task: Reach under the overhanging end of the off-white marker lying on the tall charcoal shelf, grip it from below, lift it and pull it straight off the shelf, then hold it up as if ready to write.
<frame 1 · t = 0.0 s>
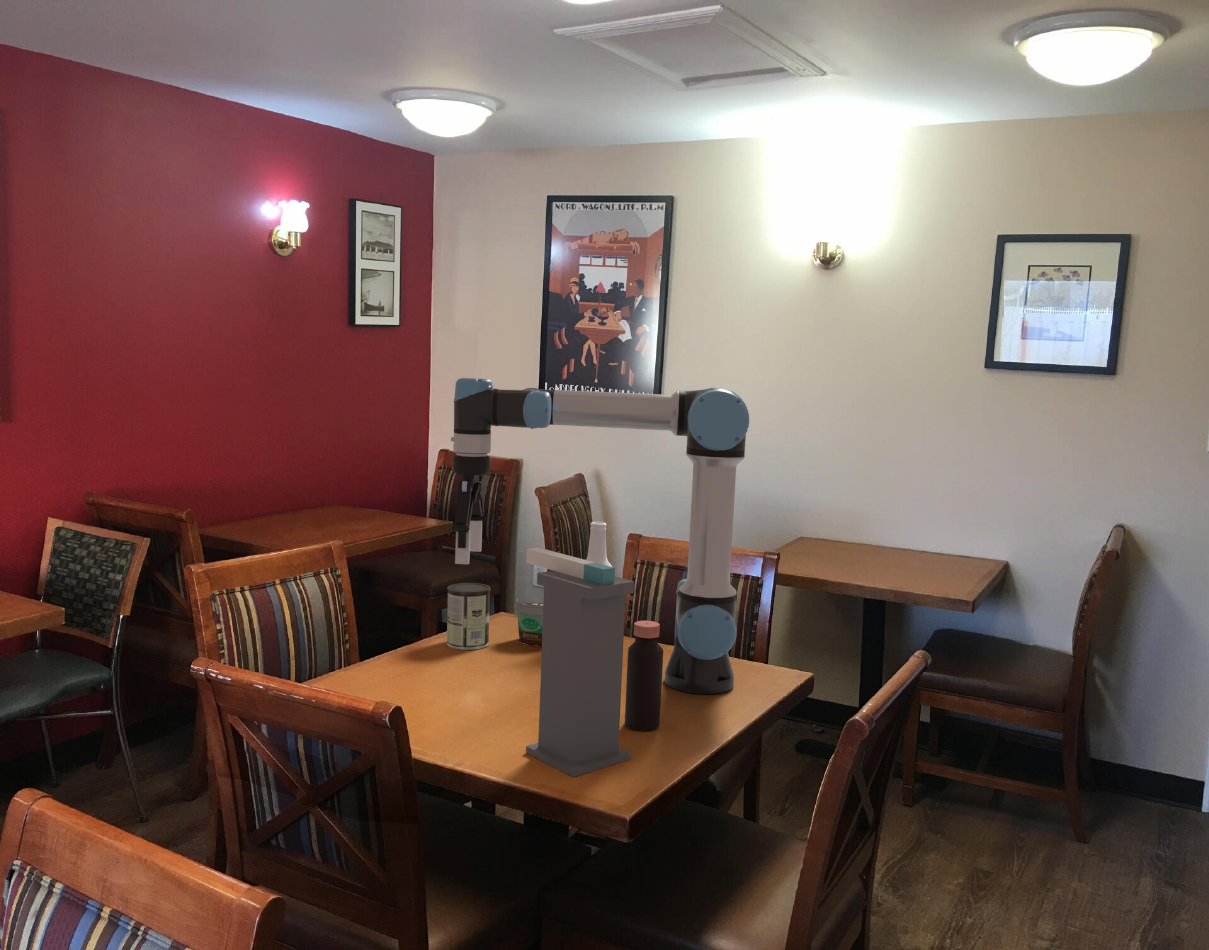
hand: (468, 557, 206), 28 cm above the table, tool pointing down, fingers open, 13 cm apart
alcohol: (593, 642, 249), on the table
coffee can: (467, 645, 243), on the table
food container: (535, 644, 246), on the table
bottle: (641, 726, 193), on the table
marker: (568, 572, 176), point 32 cm above the table, touching shelf stand
shelf stand: (577, 755, 176), on the table
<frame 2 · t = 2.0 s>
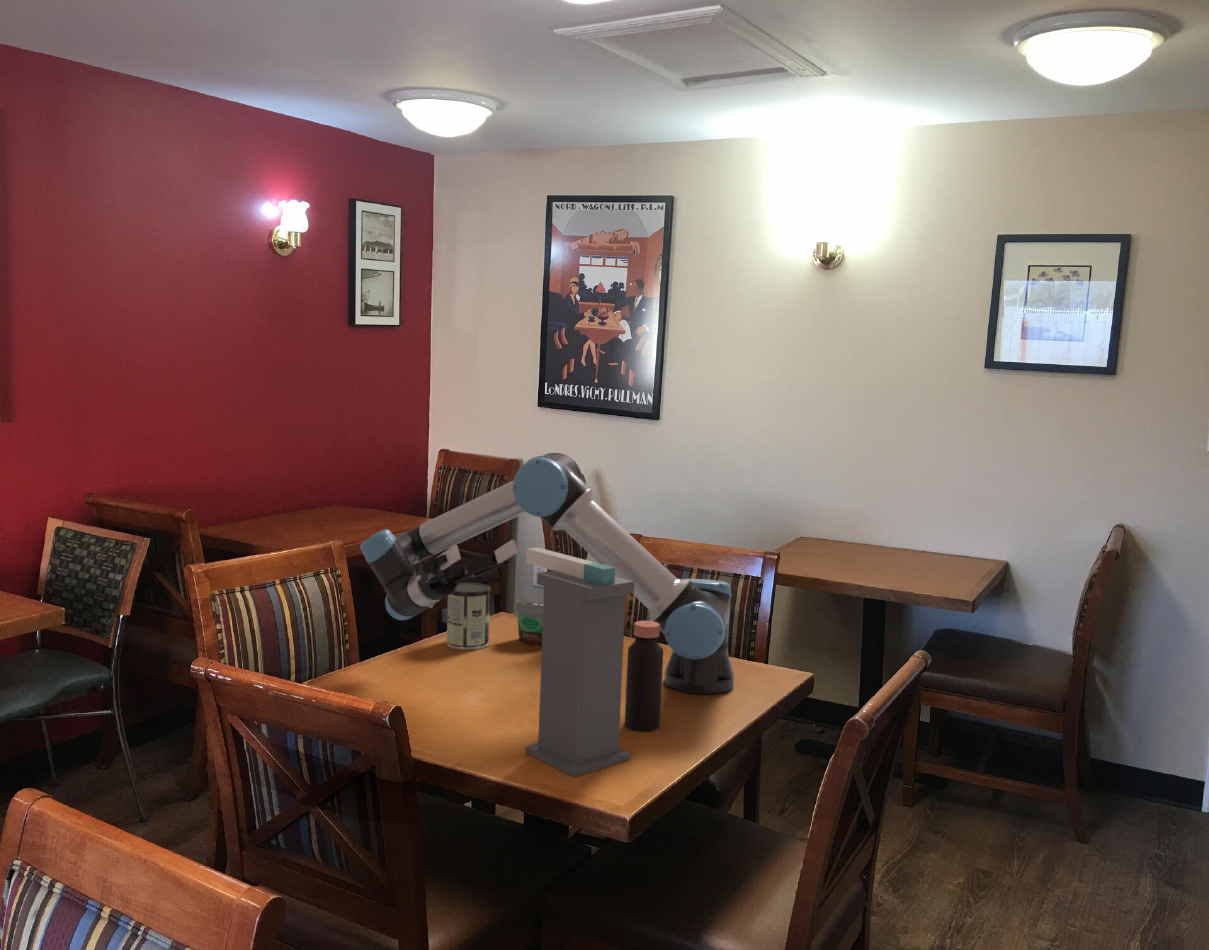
hand: (486, 548, 195), 32 cm above the table, tool pointing upward, fingers open, 13 cm apart
nothing on the table moved.
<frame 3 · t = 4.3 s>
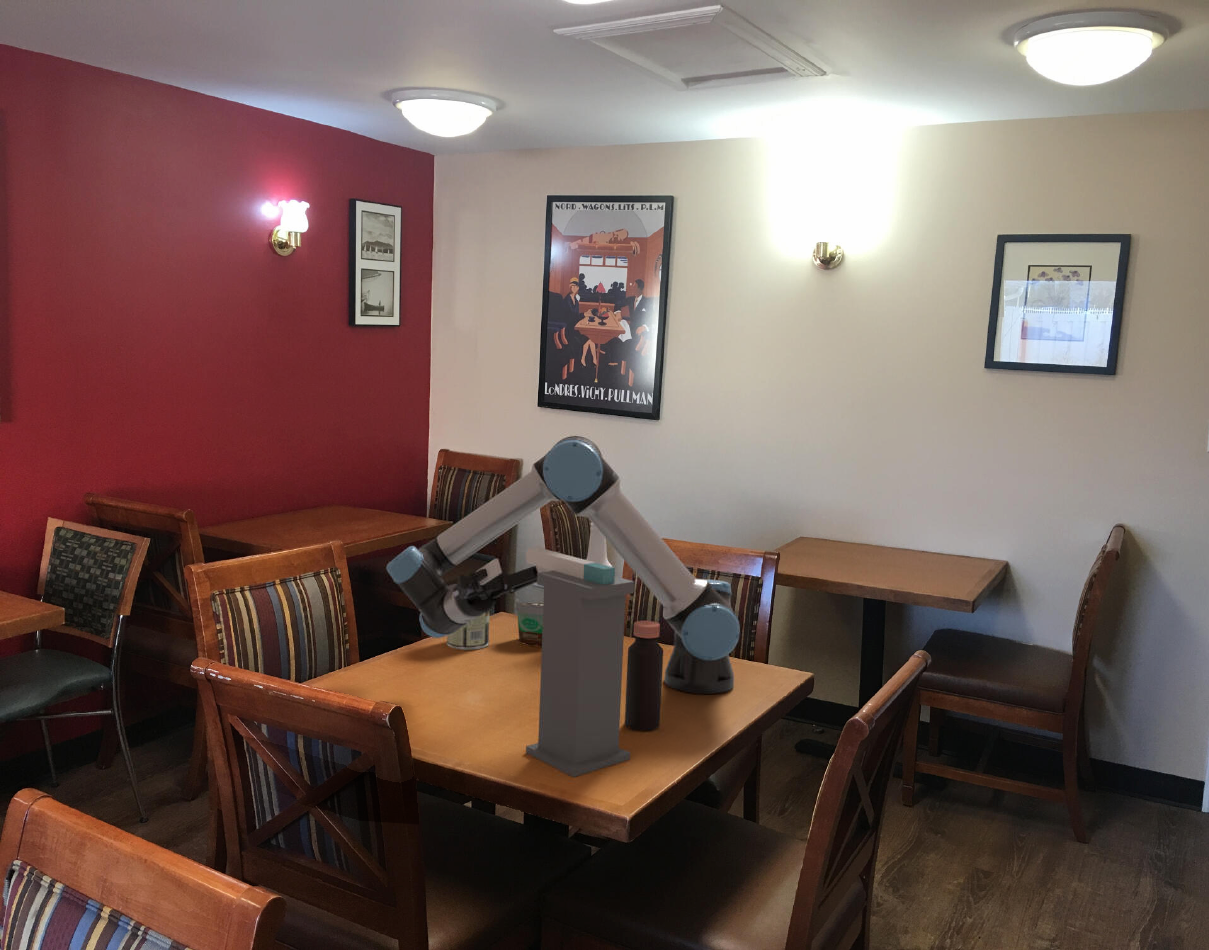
hand: (528, 561, 184), 32 cm above the table, tool pointing upward, fingers open, 13 cm apart
nothing on the table moved.
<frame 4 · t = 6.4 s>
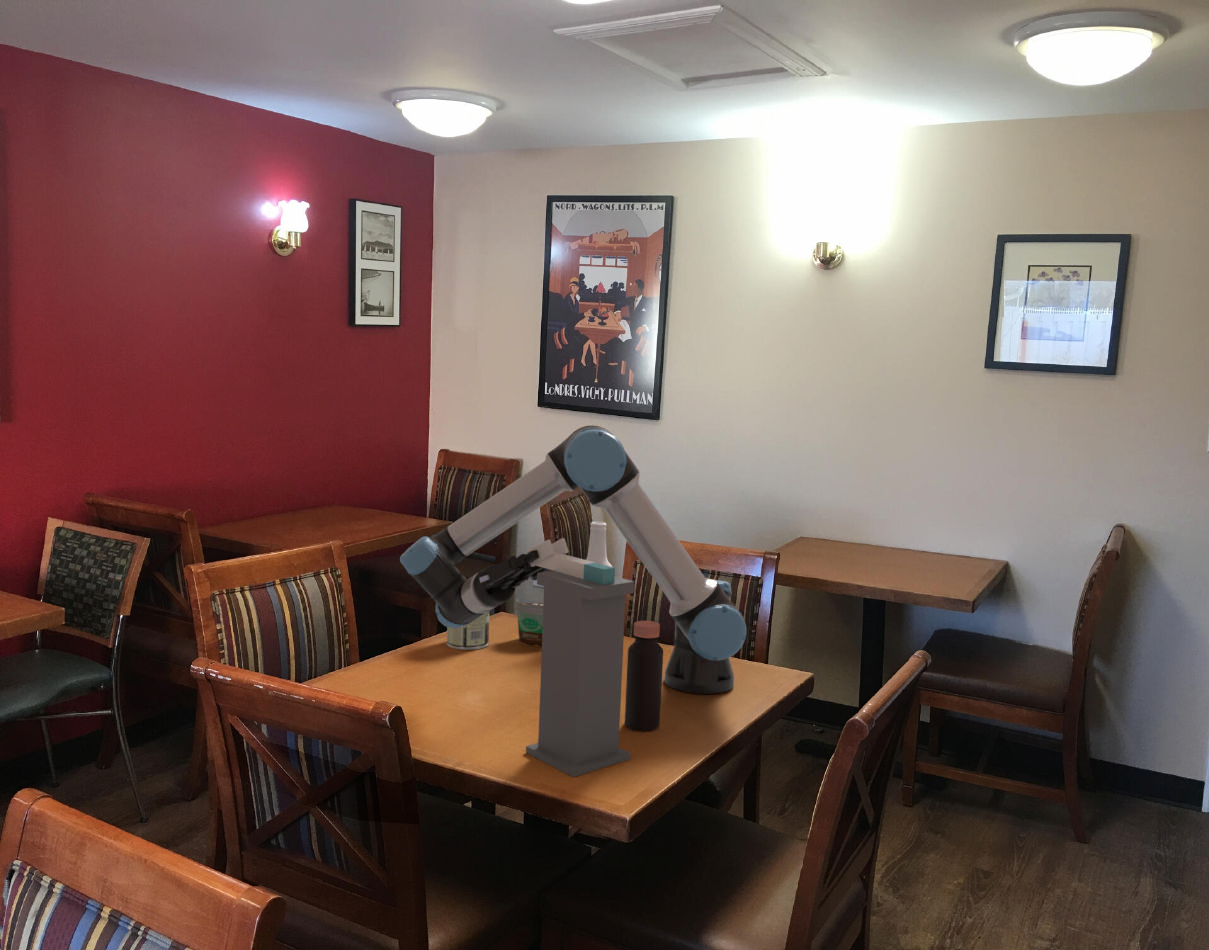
hand: (557, 546, 178), 36 cm above the table, tool pointing upward, fingers closed on marker, 3 cm apart
marker: (568, 572, 176), point 32 cm above the table, touching gripper, shelf stand
everything else where it was.
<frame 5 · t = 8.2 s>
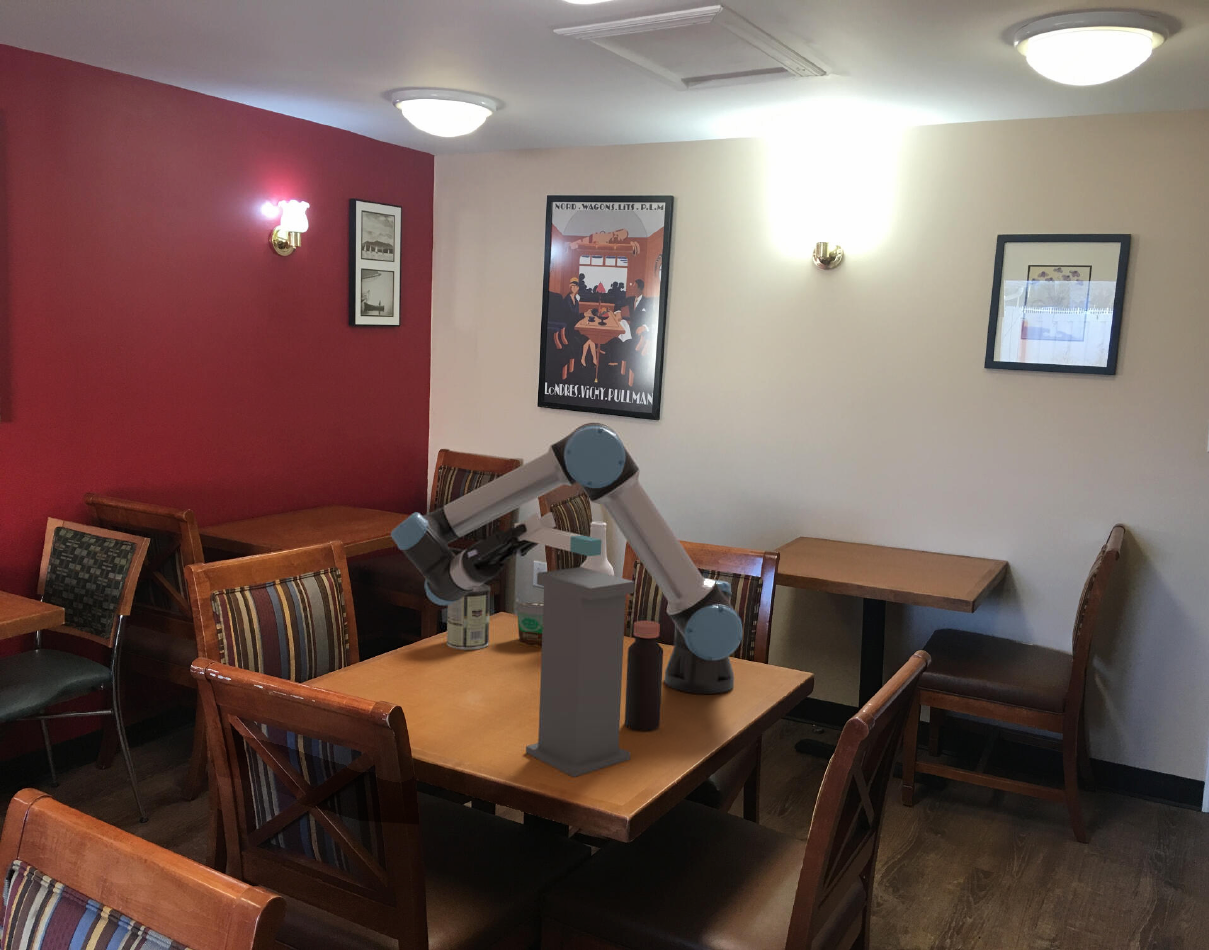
hand: (545, 519, 180), 40 cm above the table, tool pointing upward, fingers closed on marker, 3 cm apart
marker: (555, 545, 178), point 36 cm above the table, touching gripper
everything else where it was.
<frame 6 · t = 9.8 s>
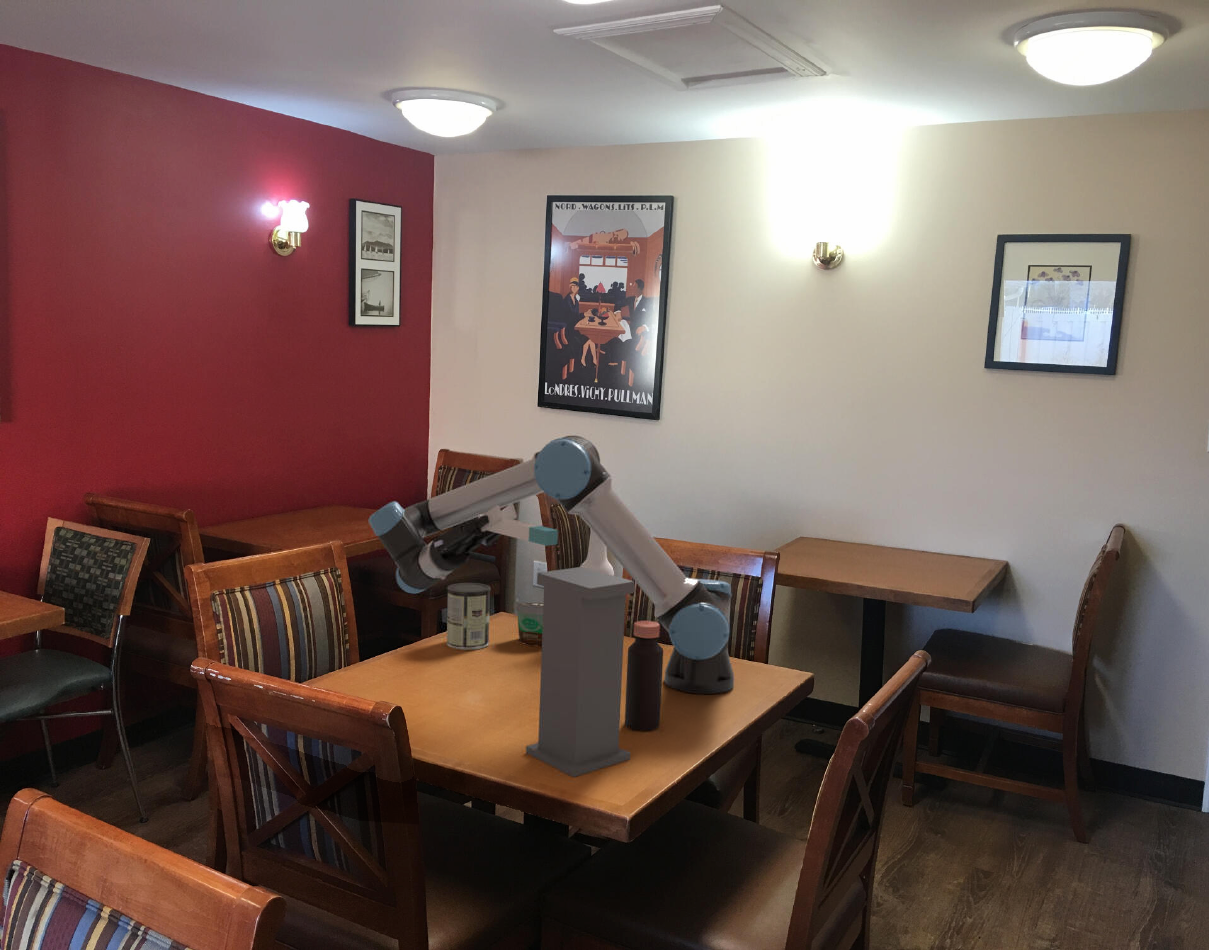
hand: (506, 511, 189), 40 cm above the table, tool pointing upward, fingers closed on marker, 3 cm apart
marker: (516, 535, 187), point 36 cm above the table, touching gripper
everything else where it was.
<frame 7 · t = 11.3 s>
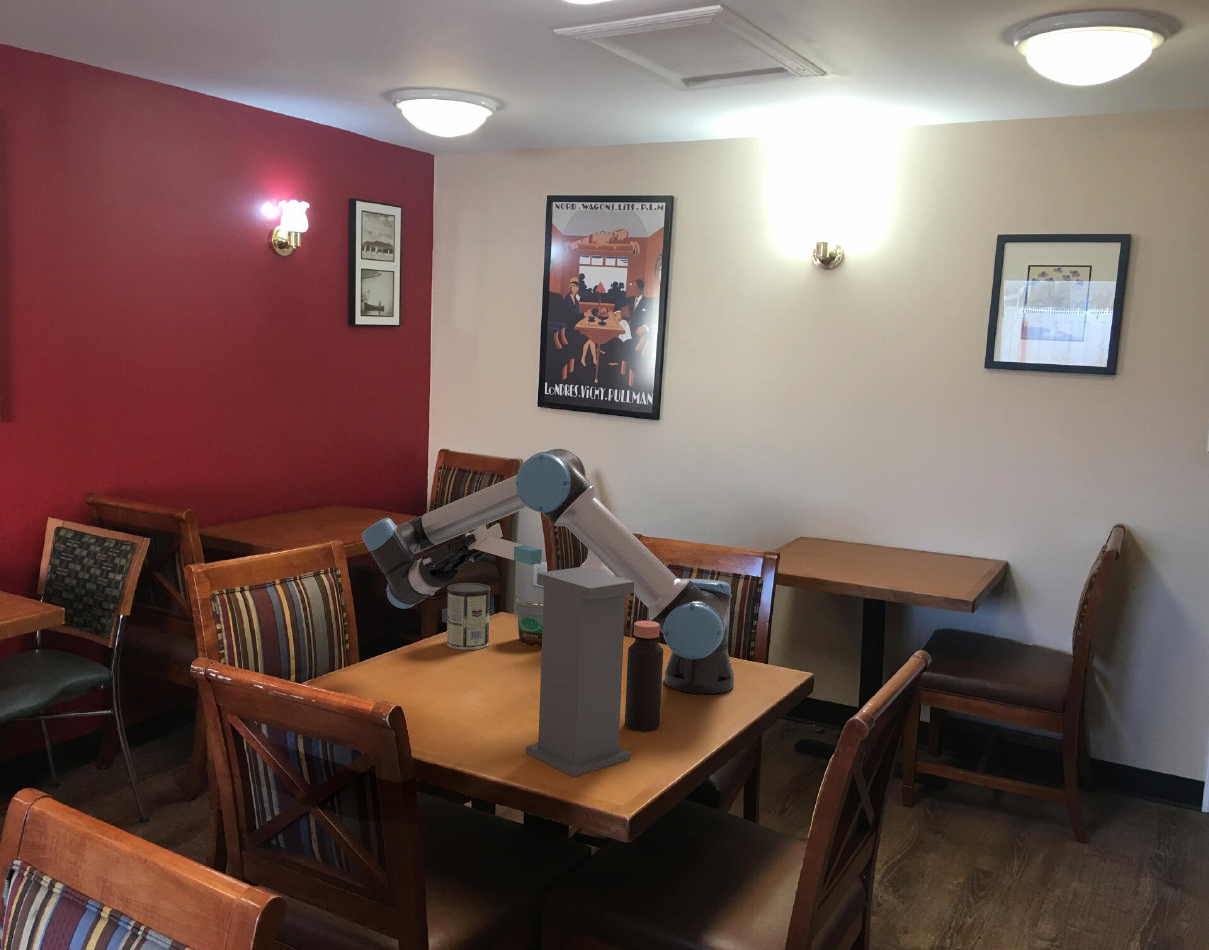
hand: (492, 530, 194), 36 cm above the table, tool pointing upward, fingers closed on marker, 3 cm apart
marker: (501, 554, 192), point 32 cm above the table, touching gripper
everything else where it was.
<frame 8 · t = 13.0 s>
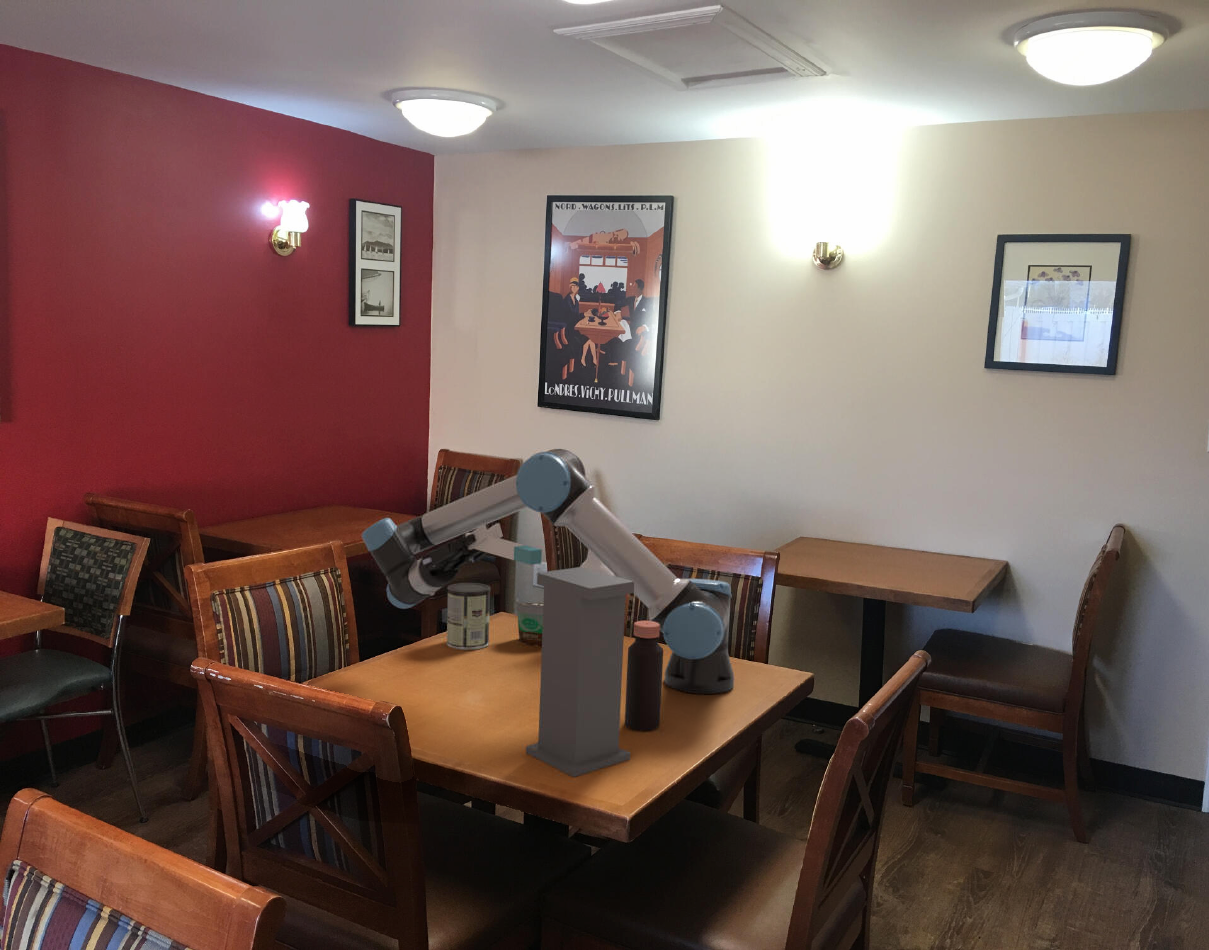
hand: (492, 530, 194), 36 cm above the table, tool pointing upward, fingers closed on marker, 3 cm apart
marker: (501, 554, 192), point 32 cm above the table, touching gripper
everything else where it was.
at the end: marker touching gripper; marker moved 20.7 cm from its start; marker point 31.6 cm above the table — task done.
